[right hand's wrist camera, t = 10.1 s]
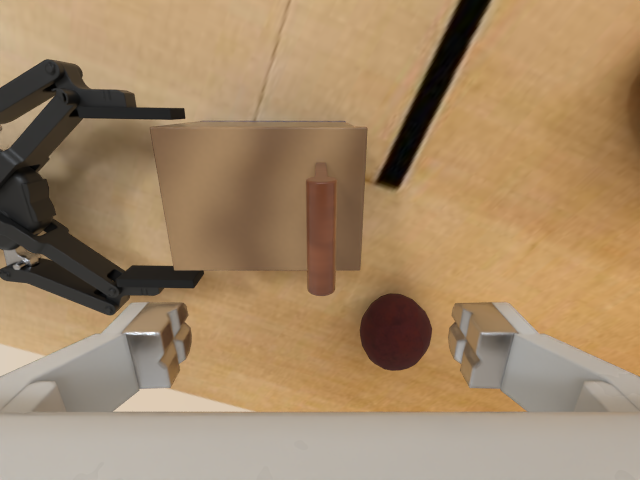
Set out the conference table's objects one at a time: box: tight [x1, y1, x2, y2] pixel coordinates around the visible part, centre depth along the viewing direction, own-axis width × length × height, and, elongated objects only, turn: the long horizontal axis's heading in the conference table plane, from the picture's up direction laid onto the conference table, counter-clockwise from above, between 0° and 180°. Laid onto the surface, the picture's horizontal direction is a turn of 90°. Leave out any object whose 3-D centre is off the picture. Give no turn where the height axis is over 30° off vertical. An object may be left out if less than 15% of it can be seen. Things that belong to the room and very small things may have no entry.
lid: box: [150, 126, 367, 296], centre depth 20 cm, size 14×10×8 cm
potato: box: [360, 294, 432, 371], centre depth 35 cm, size 7×8×7 cm
